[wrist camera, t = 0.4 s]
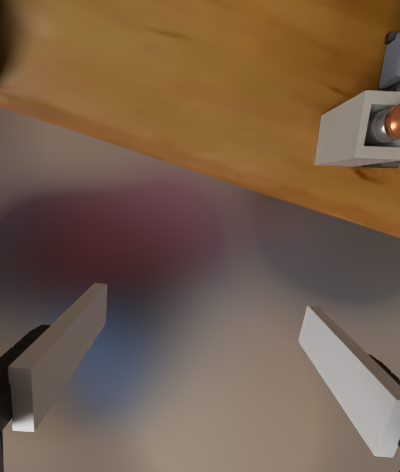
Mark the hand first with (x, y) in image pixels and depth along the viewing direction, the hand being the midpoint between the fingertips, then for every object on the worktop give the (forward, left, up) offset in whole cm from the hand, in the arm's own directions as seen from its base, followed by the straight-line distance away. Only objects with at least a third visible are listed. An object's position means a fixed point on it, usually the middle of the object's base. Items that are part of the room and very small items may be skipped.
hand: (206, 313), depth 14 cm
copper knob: (-17, +24, -21) cm, 35 cm away
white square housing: (-16, +24, -28) cm, 40 cm away
